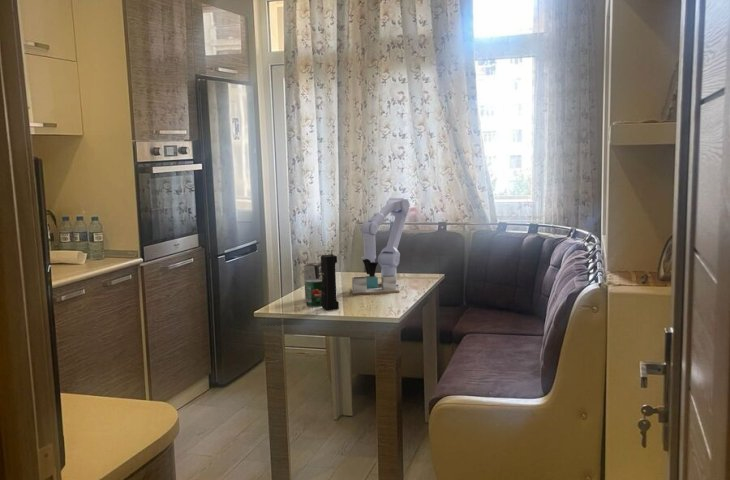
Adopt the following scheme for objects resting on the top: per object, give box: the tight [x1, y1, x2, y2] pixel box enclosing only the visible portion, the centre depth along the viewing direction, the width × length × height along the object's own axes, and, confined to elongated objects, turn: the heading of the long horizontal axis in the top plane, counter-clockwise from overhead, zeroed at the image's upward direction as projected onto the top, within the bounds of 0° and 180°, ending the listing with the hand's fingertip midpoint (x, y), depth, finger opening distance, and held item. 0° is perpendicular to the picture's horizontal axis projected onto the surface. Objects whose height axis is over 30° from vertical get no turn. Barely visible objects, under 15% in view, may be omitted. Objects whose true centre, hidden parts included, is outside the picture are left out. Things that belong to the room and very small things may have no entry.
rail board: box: [349, 275, 400, 297], centre depth 322 cm, size 9×22×8 cm, turn 100°
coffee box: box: [303, 262, 322, 302], centre depth 310 cm, size 9×6×16 cm
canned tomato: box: [304, 279, 322, 308], centre depth 297 cm, size 8×8×11 cm
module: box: [364, 275, 379, 289], centre depth 331 cm, size 4×6×6 cm
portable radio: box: [320, 249, 340, 312], centre depth 288 cm, size 8×6×25 cm
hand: (370, 275), depth 330 cm, fingers open, 7 cm apart
